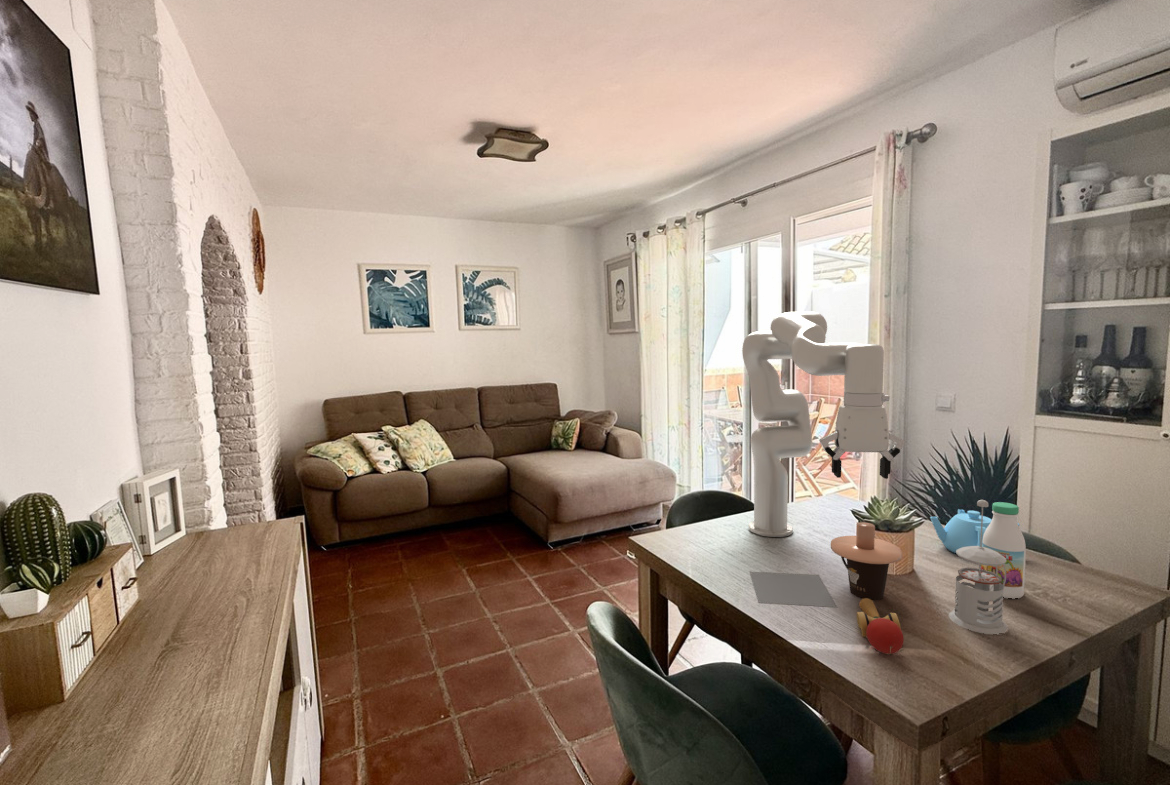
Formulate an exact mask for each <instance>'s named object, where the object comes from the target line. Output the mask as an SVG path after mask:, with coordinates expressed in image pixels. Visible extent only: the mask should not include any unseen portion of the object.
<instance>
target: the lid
mask: <svg viewBox="0 0 1170 785" xmlns="http://www.w3.org/2000/svg"><path fill="white" fill-rule="evenodd" d="M855 534H856V535H842V536H838V537H834V538H833V539H831V540H830V549H831V551H832V552H833V553H834V554H836V555H837V556H839V557H840V558H841V557H844V559H846V560H847V559H850V560H853V561H857V562H863V563H870V564H889V565H890V564H894V563H897V562H900V561H901V559H902V555H903V554H902V553H903V552H902V551H903V550H901V548H900V547H899V546H897V545H896V544H894V543H892V542H889V541H887V540H883V539H880V538H876V537H875V536H876V525H874V524H873V523H870V522H864V521H863V522H856V533H855Z"/></svg>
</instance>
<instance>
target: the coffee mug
mask: <svg viewBox="0 0 1170 785" xmlns="http://www.w3.org/2000/svg"><path fill="white" fill-rule="evenodd" d="M840 559H841V560H842V563H843V565H844V566H845V568H846V569H847V573H848V574H847V576H848V584H849V592H850V594H852V596H854V597H856V598H859V599H861V600H862V599H864V598H868V599H870V600H872V601H880V600H882V599H883V598H884V596H885V590H886V584H887V580H888V579H887V578H888V571H889V566H890V564H870V563H863V562H857V561H853V560H850V559H847V558H844V557H841V556H840Z"/></svg>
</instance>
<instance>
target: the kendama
mask: <svg viewBox="0 0 1170 785" xmlns="http://www.w3.org/2000/svg"><path fill="white" fill-rule="evenodd" d="M858 607H859V608H860V609H861V611H857V612H856V622H857V626H858V628H860V631H861V637H862V638H867V641H868V643H869V644H870V646H872V648H874V649H875V650H876V651H877V652H880V653H882V654H886V655H889V656H890V655H892V654H896V653H897V652H899V651H900V650H901V649H902V648H903V646H904V640H905V639H904V633H903V631H902V628H901V623H900V620H899V617H898V614H897V613H895V612H889V613H888V614H887V615H885V616H884V617H880V613H879V612H878V610H877V606H876V605H875V601H874V600H870V599H868V598H864V599H861V600H860V601H859V606H858Z"/></svg>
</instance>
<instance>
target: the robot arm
mask: <svg viewBox="0 0 1170 785" xmlns="http://www.w3.org/2000/svg"><path fill="white" fill-rule="evenodd" d="M827 332H828V322H827V320H826V318H825V317H824V316H823V315H822V314H821V313H819V312H816V311H788V312H783V313H780V314H778V315H776V316H775V317H774V318H773V320H772V321H771V323H770V330H760V331H754V332H751V333H750V334H748V335H747V336H746V337H745V339H744V340H743V342H742V350H741V351H742V353H741V354H742V360H743V363H744V366H745V369H746V371H747V375H748V378H749V386H750V397H751V398H750V399H751V407H752V413H753V416H754V419H755V420H756V421H759V422H763V423H764V422H765V423H775V422H787V424H788V425H773V426H771V425H770V426H764V427H763V426H762V427H759V428H757V429H755V430H754V431H753V432H752V434H751V436H750V446H751V447H750V448H751V453H752V458H753V480H754V483H753V498H754V499H753V501H754V502H753V508H754V509H753V521H751V522H749V523H748V530H749V531H750V532H752V533H753V534H755V535H759V536H761V537H762V536H763V537H769V538H782V537H787V536H790V535H792V534H793V533H794V531H793V530H794V529H793V526H792V525H790V524H789V523H788V503H789V502H788V499H789V498H788V493H789V492H788V490H789V489H788V488H789V487H788V486H789V485H788V481H789V480H788V479H789V478H788V472H787V469H786V467H785V466H784V465H783V464H782V462H781V460H782V459H785V458H786V459H789V458H790V459H791V458H801V457H806V456H808V455H809V454H810V452H811V450H812V447H813V436H812V428H811V417H810V410H809V404H808V401H807V398H806V396H805V395H804V394H803V392H801V391H800V390H797V389H782V387H781V383H780V382H781V381H780V376H779V373H778V371H777V370H776V368H775V367H774V366H773V365H772V364H771V362H769V360H793V363H794V364H795V365H796V366H797V368H799V369H801V370H802V371H803V372H805V373H807V374H809V375H811V376H817V377H826V376H827V377H829V376H844V377H843V378H844V382H843V383H844V384H843V387H844V388H843V405H839V407H838V411H837V415H836V422H835V429H834V432H832V433H829V434H826V435H825V436H823V437H821V438H819V443H820V445H821V447H822V448H823V451H824V452H825V453H826V454H828V456H830V458H831V473H832V474H833V475H834V476H835V477H836V478H839V479H840V478H842V460H841V459H840V458H841V457H842V456H843V455H844V454H845V453H879V454H880V456H882V457H880V458H879V476H880V477H882V478H883V479H884V480H885V479H886V480H888V479H889V475H891V470H892V469H891V468H892V467H891V466H892V465H891V464H892V461H893V460H894V458H896V457H897V455H899V454H900V453H901V450H902V448H903V447H904V446H905V443H906V441H905V440H904V439H902V438H900V437H898V436H896V435H894V434H891V433H890V432H889V422H888V421H889V420H888V414H887V410H886V407H885V406H884V403H886V402H889V401H890V395H889V394H888V395H887V394H884V392H883V390H884V387H883V386H884V366H885V365H884V362H885V358H884V357H885V352H884V350H885V349H884V348H883V346H882V345H881V344H875V343H860V342H826V338H827V337H826V336H827V335H826V334H827ZM889 440H890V441H892V442H894V445H893V446H892V447H891V448H889V442H890V441H889ZM833 441H834V445H835V448H834V449H832V447H830V445H829V443H830V442H833ZM888 449H889V450H888Z"/></svg>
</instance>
